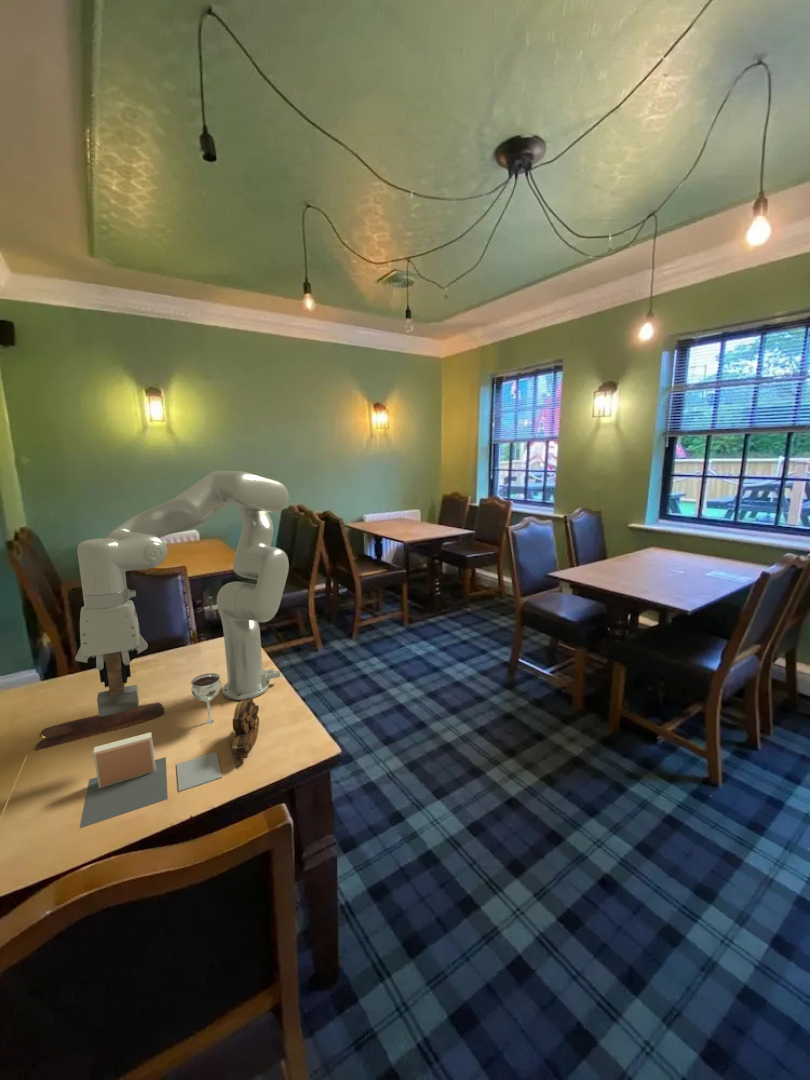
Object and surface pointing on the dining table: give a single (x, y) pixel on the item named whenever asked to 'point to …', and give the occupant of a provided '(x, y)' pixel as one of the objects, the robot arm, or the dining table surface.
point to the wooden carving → (245, 727)
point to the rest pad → (198, 771)
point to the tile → (124, 759)
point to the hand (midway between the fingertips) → (116, 681)
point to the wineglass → (206, 689)
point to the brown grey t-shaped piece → (116, 689)
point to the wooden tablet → (97, 725)
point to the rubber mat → (124, 795)
